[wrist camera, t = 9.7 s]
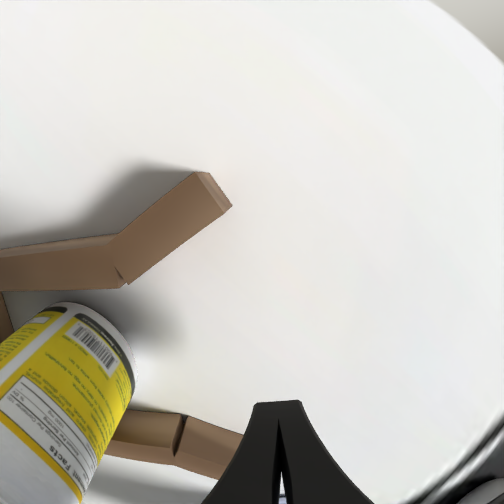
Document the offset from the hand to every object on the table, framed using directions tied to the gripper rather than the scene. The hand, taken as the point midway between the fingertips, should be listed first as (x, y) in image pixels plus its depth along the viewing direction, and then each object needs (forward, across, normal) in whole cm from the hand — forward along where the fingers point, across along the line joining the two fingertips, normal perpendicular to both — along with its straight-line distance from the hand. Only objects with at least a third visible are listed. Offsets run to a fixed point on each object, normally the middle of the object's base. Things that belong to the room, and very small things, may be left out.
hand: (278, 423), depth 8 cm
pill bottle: (+5, +9, 0) cm, 10 cm away
